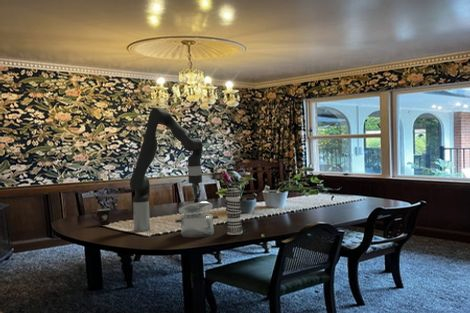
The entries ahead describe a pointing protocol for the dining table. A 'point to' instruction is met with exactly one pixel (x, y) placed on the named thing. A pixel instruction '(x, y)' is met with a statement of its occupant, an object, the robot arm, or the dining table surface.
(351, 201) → the dining table surface
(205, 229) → the cooking pot
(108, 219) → the coffee mug
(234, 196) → the decorative candle
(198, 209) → the pot lid
